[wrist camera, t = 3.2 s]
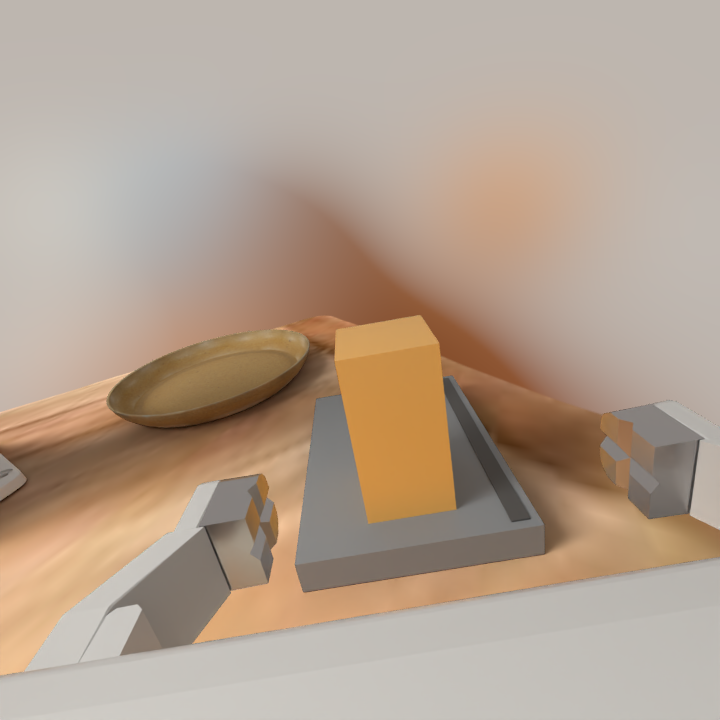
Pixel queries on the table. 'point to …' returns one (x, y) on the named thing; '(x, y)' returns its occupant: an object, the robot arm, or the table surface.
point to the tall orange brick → (396, 417)
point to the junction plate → (413, 534)
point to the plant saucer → (210, 379)
